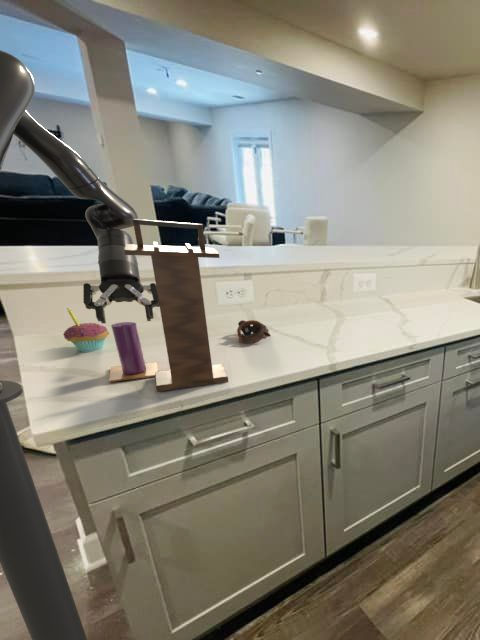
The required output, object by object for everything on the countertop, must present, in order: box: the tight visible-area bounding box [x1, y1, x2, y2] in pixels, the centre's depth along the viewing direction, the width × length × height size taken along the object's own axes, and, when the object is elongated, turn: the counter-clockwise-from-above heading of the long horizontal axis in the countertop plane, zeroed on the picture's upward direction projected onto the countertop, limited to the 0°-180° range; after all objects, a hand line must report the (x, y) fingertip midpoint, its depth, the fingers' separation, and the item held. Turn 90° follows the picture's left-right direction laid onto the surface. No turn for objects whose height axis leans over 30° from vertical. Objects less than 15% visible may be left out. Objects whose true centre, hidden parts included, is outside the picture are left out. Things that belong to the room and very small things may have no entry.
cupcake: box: [62, 307, 110, 353], centre depth 103 cm, size 9×8×12 cm
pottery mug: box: [236, 319, 271, 345], centre depth 123 cm, size 12×10×8 cm
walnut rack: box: [124, 218, 229, 392], centre depth 90 cm, size 16×9×38 cm, turn 129°
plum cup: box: [110, 321, 146, 374], centre depth 93 cm, size 12×4×4 cm
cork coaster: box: [108, 361, 159, 383], centre depth 96 cm, size 9×9×1 cm
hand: (126, 320), depth 96 cm, fingers open, 8 cm apart
